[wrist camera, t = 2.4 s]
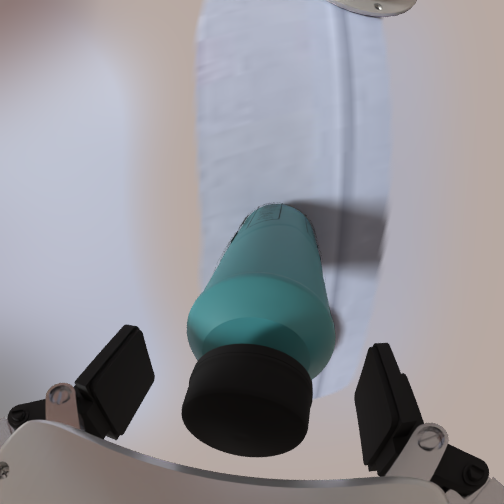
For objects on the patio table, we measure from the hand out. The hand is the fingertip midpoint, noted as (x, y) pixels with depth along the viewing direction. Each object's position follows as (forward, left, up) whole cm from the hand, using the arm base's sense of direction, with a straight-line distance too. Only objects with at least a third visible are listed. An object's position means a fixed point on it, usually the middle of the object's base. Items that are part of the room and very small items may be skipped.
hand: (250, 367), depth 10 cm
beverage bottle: (-1, 0, -17) cm, 17 cm away
